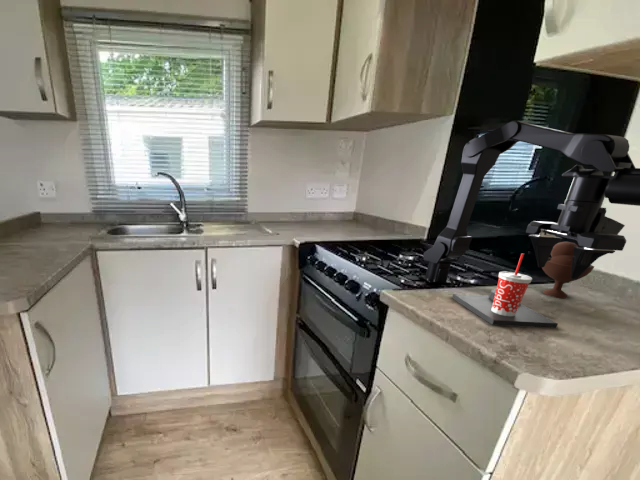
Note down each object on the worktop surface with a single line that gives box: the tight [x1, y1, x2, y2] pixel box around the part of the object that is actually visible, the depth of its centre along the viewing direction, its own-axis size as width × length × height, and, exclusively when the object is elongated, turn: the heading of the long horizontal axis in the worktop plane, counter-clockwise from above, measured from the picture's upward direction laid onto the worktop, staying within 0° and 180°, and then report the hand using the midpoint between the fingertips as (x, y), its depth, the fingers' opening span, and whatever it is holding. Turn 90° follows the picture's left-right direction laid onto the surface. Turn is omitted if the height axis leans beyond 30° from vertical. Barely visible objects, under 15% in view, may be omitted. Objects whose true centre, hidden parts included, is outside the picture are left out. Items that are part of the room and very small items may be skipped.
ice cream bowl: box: [541, 241, 595, 299], centre depth 98 cm, size 11×11×15 cm
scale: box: [451, 288, 559, 329], centre depth 86 cm, size 17×15×3 cm
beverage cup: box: [491, 253, 533, 316], centre depth 80 cm, size 6×6×14 cm
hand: (556, 272), depth 79 cm, fingers open, 9 cm apart
